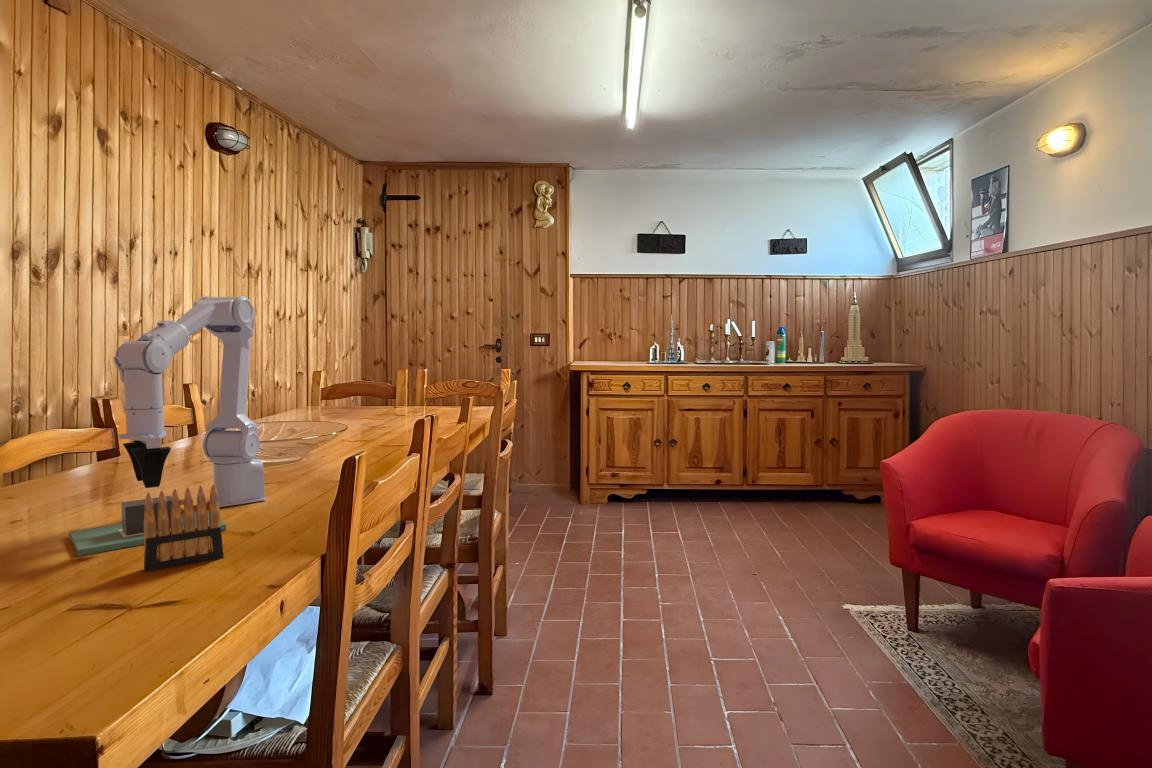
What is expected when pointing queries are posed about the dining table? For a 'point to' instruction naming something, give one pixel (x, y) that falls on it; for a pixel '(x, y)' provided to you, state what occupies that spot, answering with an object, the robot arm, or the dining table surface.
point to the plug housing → (140, 514)
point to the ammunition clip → (181, 531)
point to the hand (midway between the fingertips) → (148, 483)
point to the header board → (109, 538)
